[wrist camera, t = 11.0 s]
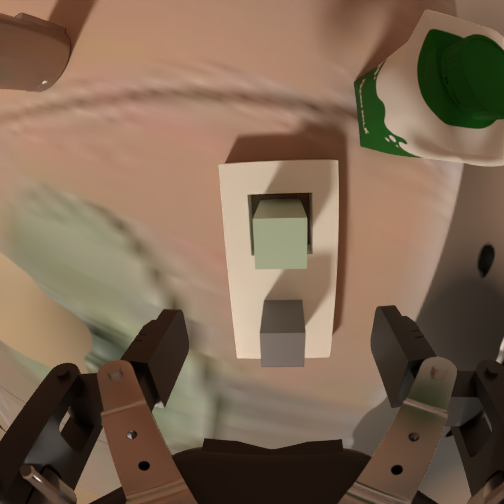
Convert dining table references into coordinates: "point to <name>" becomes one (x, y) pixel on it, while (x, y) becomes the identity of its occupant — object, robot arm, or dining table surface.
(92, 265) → the dining table surface
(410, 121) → the milk carton
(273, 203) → the green plug
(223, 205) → the white plate with window
